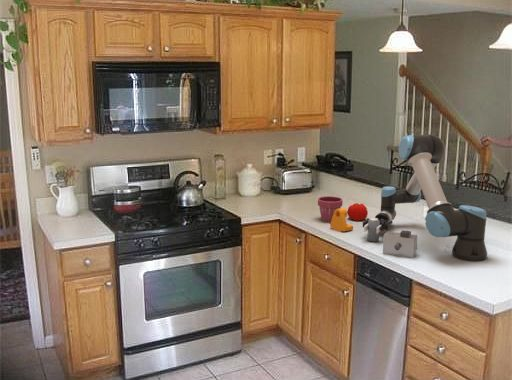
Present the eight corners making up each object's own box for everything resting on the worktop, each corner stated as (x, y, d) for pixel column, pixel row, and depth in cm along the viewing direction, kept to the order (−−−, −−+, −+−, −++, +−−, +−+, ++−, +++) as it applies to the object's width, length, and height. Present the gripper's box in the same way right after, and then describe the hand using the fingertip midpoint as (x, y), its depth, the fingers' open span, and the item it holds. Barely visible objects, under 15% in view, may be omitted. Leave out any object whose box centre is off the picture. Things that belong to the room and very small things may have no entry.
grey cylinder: (381, 239, 268) (382, 218, 266) (374, 242, 264) (375, 220, 262) (371, 237, 272) (372, 216, 270) (365, 239, 268) (366, 218, 266)
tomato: (350, 216, 316) (350, 201, 314) (370, 218, 311) (370, 203, 309) (344, 220, 307) (344, 205, 305) (364, 223, 302) (365, 207, 300)
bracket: (353, 230, 287) (354, 209, 284) (344, 233, 282) (345, 211, 280) (339, 226, 295) (340, 205, 293) (330, 228, 291) (330, 207, 288)
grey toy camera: (420, 247, 258) (421, 225, 255) (412, 259, 241) (413, 235, 238) (391, 243, 264) (392, 222, 262) (381, 254, 247) (382, 232, 245)
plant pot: (339, 224, 299) (340, 202, 296) (315, 222, 303) (315, 200, 301) (343, 218, 312) (344, 197, 309) (320, 216, 316) (320, 195, 314)
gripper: (400, 228, 279) (389, 239, 259) (365, 224, 287) (352, 234, 267) (400, 214, 277) (389, 224, 257) (366, 210, 286) (352, 220, 266)
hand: (370, 229), depth 262 cm, fingers closed on grey cylinder, 6 cm apart
